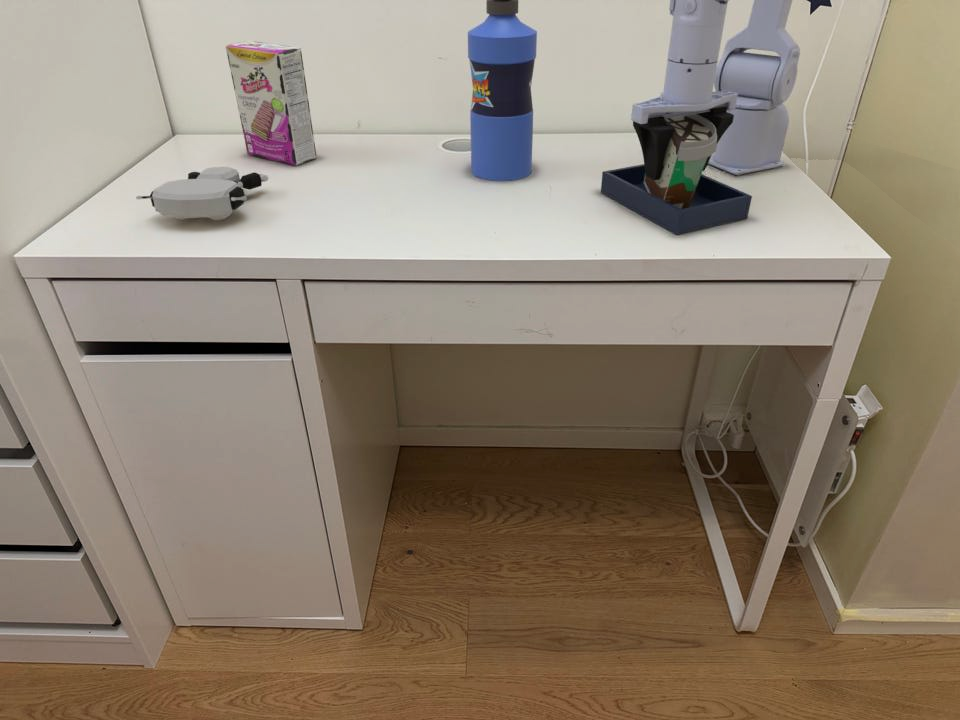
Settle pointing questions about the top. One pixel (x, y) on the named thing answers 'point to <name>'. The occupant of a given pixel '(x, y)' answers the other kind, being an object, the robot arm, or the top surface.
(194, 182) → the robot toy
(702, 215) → the rectangular tray
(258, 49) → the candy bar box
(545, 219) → the top surface
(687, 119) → the food container
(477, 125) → the water bottle
